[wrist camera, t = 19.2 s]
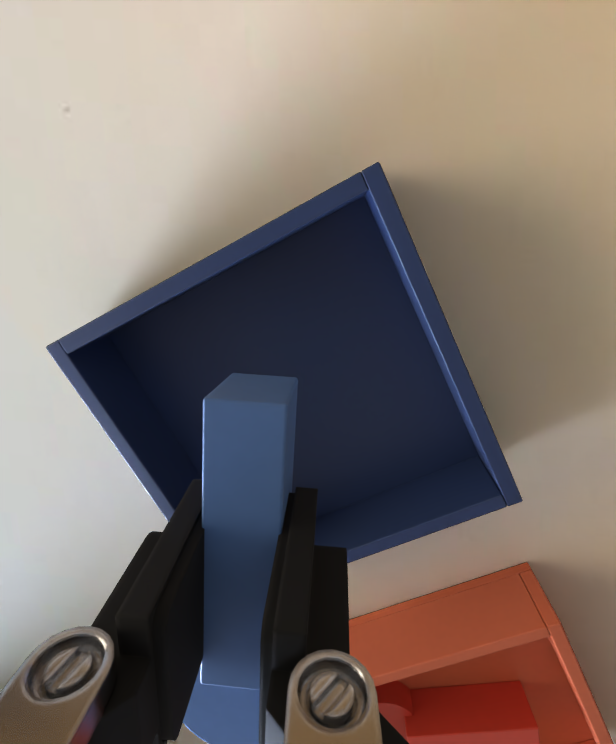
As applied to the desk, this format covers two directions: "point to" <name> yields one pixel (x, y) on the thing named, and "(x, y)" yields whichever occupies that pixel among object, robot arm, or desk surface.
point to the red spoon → (460, 713)
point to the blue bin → (306, 371)
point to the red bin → (485, 649)
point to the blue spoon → (240, 545)
